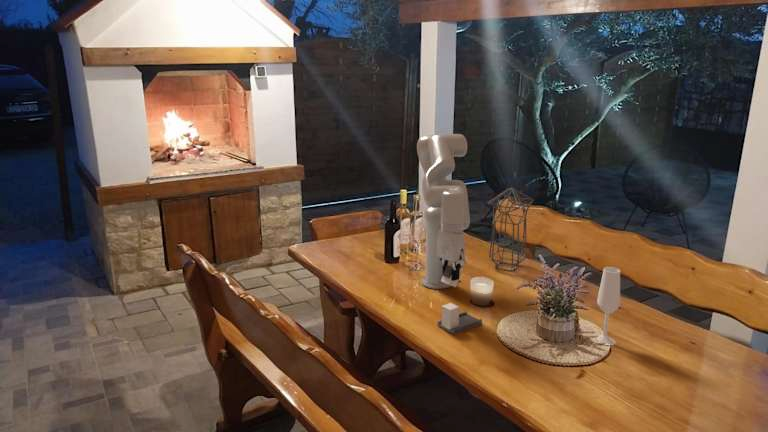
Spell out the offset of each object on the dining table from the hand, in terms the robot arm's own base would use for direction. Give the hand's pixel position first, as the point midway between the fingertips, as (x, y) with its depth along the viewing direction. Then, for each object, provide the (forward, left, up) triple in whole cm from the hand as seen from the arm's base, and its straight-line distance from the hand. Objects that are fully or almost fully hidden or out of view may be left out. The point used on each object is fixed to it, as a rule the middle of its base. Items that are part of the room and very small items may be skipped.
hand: (450, 277), depth 200 cm
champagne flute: (-25, +44, -14) cm, 53 cm away
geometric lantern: (-50, -19, -14) cm, 55 cm away
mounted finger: (+7, +8, -13) cm, 17 cm away
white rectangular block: (+1, 0, -2) cm, 2 cm away
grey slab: (+3, +8, -14) cm, 16 cm away
